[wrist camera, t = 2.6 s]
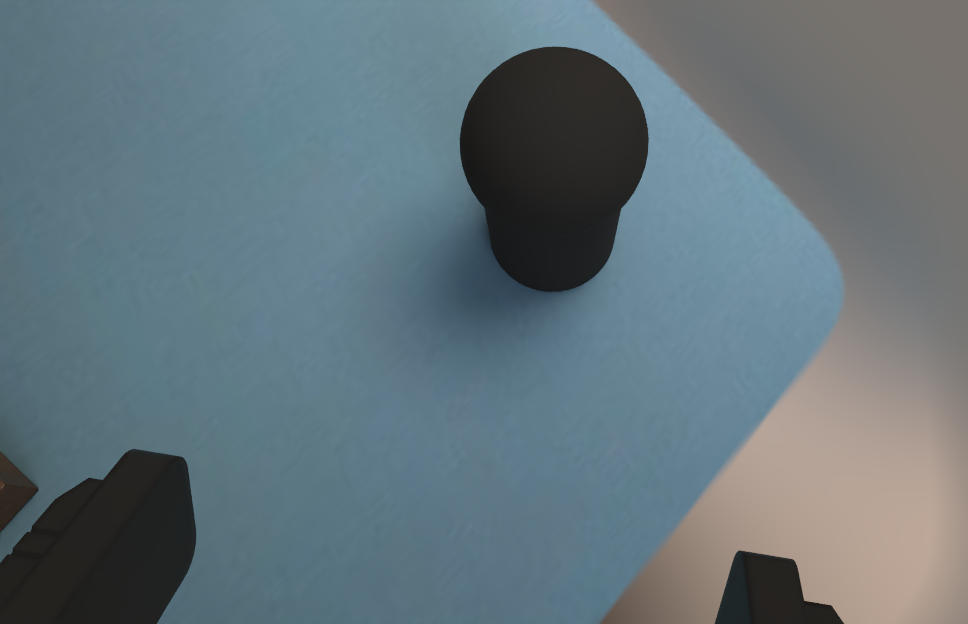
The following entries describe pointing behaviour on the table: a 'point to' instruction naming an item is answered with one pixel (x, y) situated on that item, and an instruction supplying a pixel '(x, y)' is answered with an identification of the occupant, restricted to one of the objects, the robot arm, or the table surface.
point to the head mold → (553, 162)
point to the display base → (12, 490)
